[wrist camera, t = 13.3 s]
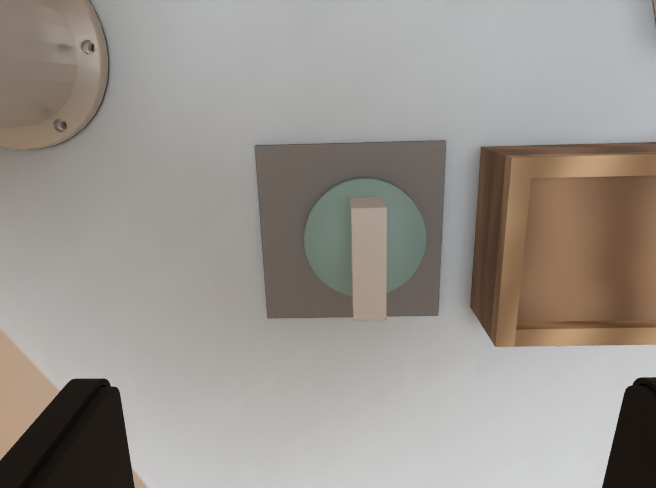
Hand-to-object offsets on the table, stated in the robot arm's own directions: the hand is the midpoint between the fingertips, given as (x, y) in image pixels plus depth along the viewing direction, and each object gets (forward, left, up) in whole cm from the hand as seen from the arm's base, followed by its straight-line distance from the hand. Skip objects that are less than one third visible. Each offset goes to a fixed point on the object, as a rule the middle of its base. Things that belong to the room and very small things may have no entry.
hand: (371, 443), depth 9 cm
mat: (0, -3, -26) cm, 26 cm away
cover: (+1, -3, -25) cm, 26 cm away
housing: (+16, -3, -26) cm, 31 cm away
